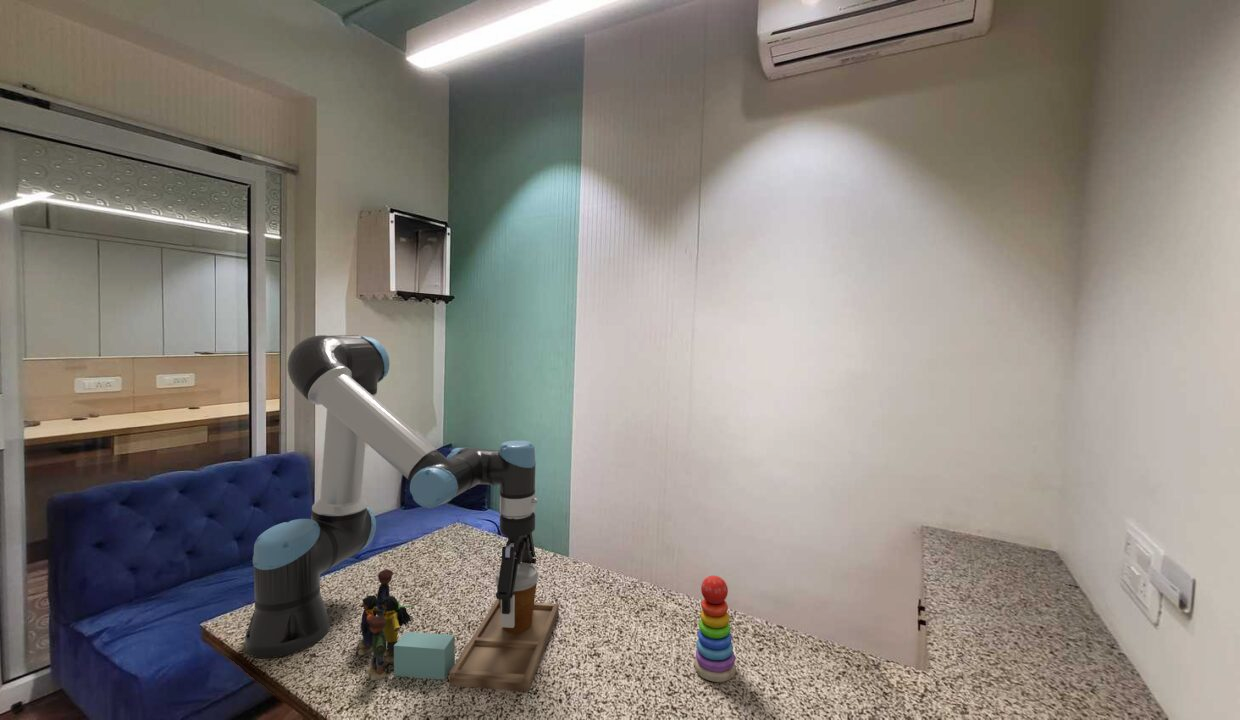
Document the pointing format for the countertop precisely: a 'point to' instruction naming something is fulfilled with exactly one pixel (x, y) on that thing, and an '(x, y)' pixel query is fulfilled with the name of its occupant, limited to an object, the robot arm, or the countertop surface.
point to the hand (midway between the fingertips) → (517, 608)
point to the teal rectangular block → (424, 655)
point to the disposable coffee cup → (523, 596)
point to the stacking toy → (714, 634)
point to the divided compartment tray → (504, 652)
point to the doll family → (381, 625)
